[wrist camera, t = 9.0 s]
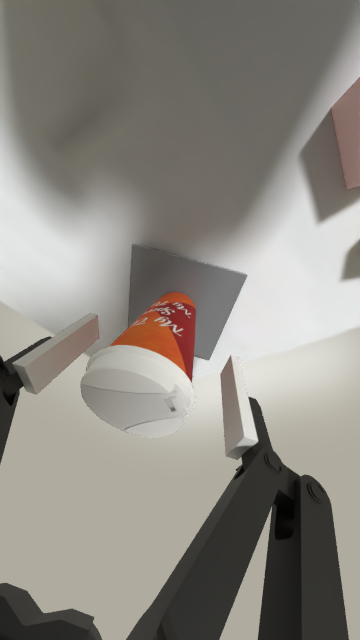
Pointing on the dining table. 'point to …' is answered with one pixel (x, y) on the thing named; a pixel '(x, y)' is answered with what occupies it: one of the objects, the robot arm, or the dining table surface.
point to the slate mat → (185, 291)
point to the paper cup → (147, 371)
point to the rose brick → (349, 133)
